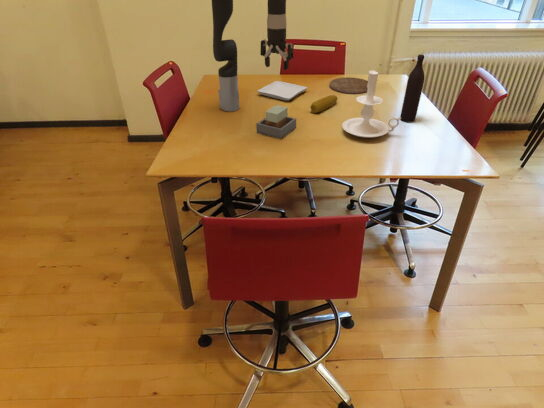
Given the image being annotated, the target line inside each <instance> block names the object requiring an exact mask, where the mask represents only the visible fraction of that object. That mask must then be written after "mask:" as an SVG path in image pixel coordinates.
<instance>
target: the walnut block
mask: <svg viewBox="0 0 544 408" xmlns="http://www.w3.org/2000/svg"><path fill="white" fill-rule="evenodd" d="M287 117H288V116H287ZM287 117H285V118H284V119H282V120H281V121H279V122H278V123H275V122H271V121H267V120H266V125H268V126H272V127H276V128H280V129H281V128H282V127H283V126H285V125H286V124H287Z"/></svg>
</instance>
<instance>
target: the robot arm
mask: <svg viewBox="0 0 544 408" xmlns="http://www.w3.org/2000/svg"><path fill="white" fill-rule="evenodd" d="M211 11H212V26H213V28H212V29H213V30H212V34H213V35H212V53H213V58H214V60H215V61H216V62H220V63H221V62H226V63H225V64H224V65H223V66H221V67H219V68H218V81H219V89H218V91H217V92H218V100H219V101H218V102H219V109H221V110H222V111H224V112H235V111H238V110H240V96H239V95H240V94H239V81H238V78H239V77H238V45H237V43H236V41H235V40H234V39H233V38H231V39H223V34H224V32H225V28H226V27H227V24H228V23H229V21H230V19H231V17H232V15H233V13H234V12H233V11H234V0H211ZM266 25H267V26H266V32H267V34H266V36H267V39H266V38H265V39H262V40H260V54H259V55H260V56H261V57H262V56H263V57H264V65H265V68H269V67H270V66H271V57H270V56H271V54H277V55H280V56H281V57H282V59H283V71H287V70H288V69H289V66H290V65H289V64H290V63H289V61H290V60H292V59H294V43H293V42H291V43H287V0H267V17H266ZM267 47H268V49H267Z"/></svg>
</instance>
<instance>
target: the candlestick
mask: <svg viewBox="0 0 544 408" xmlns="http://www.w3.org/2000/svg"><path fill="white" fill-rule="evenodd" d="M378 75H379V72H378V71H376V70H368V76H367V81H368V84H367V88H368V90H367V93H366V94H364V95H363V94H361V95H358V96H357V97H356V98H355V101H357V102H358V103H360V104H362V105H364V106H363V107H362V108H361V110H360V115H361V117H352V118H347V119H346V120H345V121H343V122H342V124H341V127H342V128H343V131H345V132H347V133H348V134H351V136H354V137H357V138H363V139H374V138H377V137H381V136H384V135H386V134H388V133H389V132H393V131H394V130H395V128H397V127H398V126H399V124H400V121H399V120H401V118H400V116H399V117H391V118H389V119H388V121H387V124H386V122H383V121H381V120H379V119H377V118H376V119H375V118H373V117H374V115H375V110H374V107H373V106H375V105H380V104H383V102H384V100H383V99H382V97H379V96H377V95H376V89H377V82H378ZM393 120H395V121H396V124H395V125H392V124H390V122H391V121H393ZM390 128H391V129H390Z"/></svg>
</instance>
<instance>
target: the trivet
mask: <svg viewBox="0 0 544 408" xmlns="http://www.w3.org/2000/svg"><path fill="white" fill-rule="evenodd" d="M367 84H368V79H363V78H360V77H359V78H358V77H338V78H335V79H331V80H330V81H329V85H328V86H329V88H330V89H331V90H332V91H334V92H337V93H339V94H343V95H344V94H345V95H363V93H364V94H367V90H368V88H367Z"/></svg>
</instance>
